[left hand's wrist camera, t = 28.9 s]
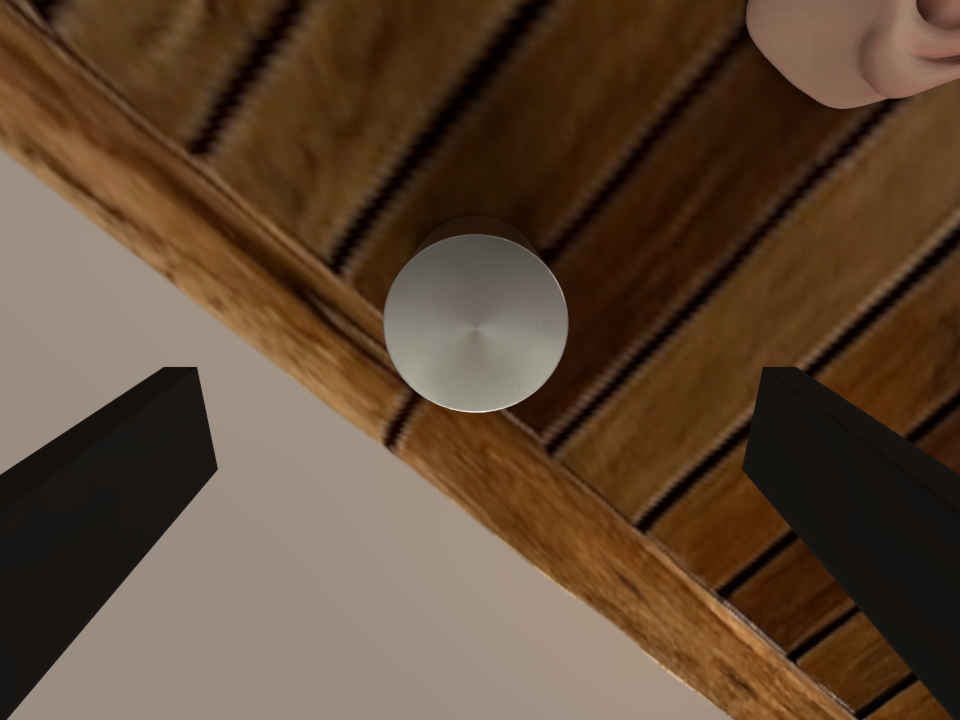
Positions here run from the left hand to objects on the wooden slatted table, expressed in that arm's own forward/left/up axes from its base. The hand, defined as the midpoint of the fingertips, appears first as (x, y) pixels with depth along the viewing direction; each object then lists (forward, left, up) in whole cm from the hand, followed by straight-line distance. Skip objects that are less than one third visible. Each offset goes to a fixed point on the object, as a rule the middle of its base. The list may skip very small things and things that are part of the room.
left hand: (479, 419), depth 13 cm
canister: (0, 0, -18) cm, 18 cm away
